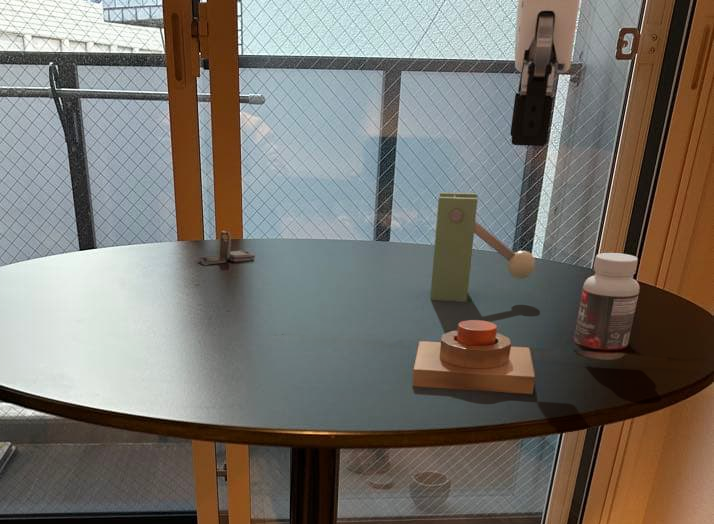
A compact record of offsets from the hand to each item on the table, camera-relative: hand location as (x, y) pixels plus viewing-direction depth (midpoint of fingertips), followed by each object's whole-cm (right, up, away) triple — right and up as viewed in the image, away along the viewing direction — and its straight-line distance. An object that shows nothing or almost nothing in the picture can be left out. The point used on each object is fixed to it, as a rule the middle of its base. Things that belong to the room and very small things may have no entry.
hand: (526, 141), depth 79 cm
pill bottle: (+9, -20, +5) cm, 22 cm away
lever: (-1, -5, +17) cm, 18 cm away
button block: (-6, -23, -1) cm, 24 cm away
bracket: (-4, -10, +21) cm, 24 cm away
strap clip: (-34, +3, +43) cm, 55 cm away
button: (-6, -21, -3) cm, 22 cm away
